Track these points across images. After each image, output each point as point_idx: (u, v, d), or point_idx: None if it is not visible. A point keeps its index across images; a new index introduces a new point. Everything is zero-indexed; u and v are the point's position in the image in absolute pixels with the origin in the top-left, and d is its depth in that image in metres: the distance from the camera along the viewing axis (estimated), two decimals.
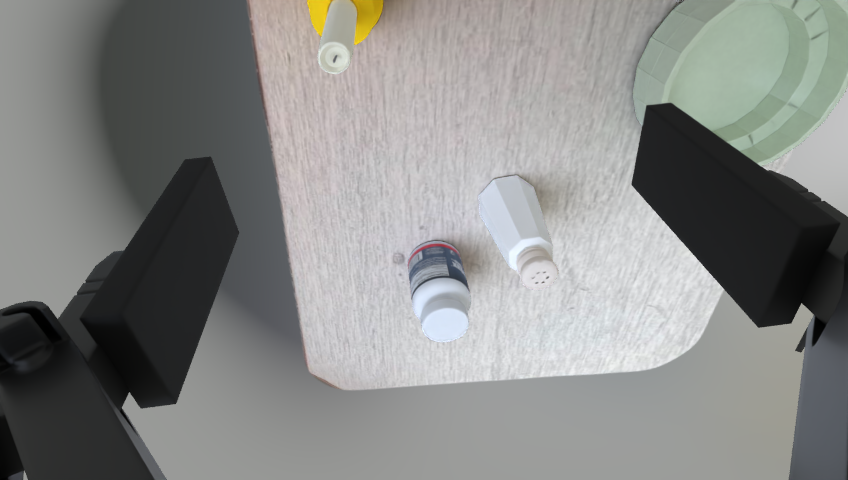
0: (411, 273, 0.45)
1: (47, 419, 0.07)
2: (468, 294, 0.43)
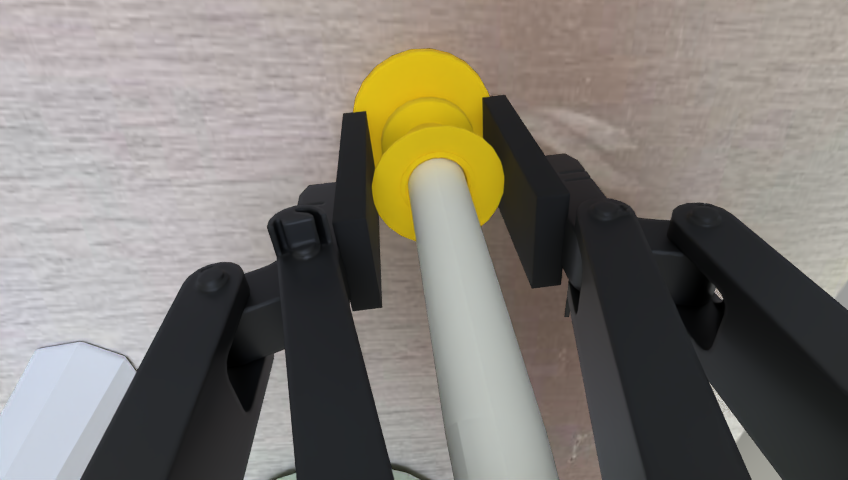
0: None
1: (305, 303, 0.09)
2: None
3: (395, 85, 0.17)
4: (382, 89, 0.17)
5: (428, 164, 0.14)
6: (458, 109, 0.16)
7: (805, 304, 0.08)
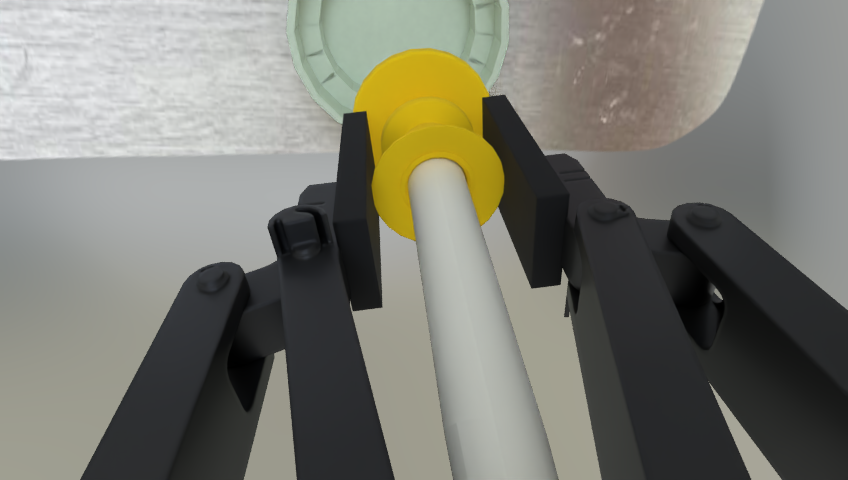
0: None
1: (306, 303, 0.09)
2: None
3: (395, 85, 0.17)
4: (382, 89, 0.17)
5: (428, 164, 0.14)
6: (458, 109, 0.16)
7: (804, 304, 0.08)
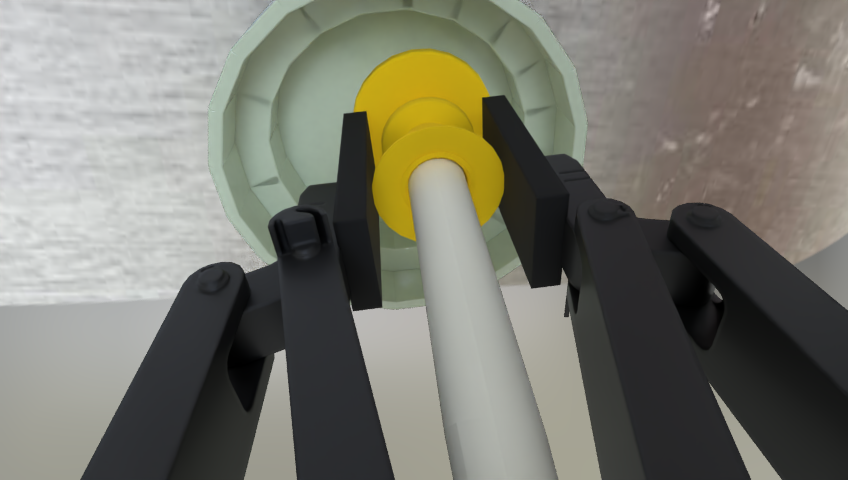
0: None
1: (306, 303, 0.09)
2: None
3: (395, 85, 0.17)
4: (382, 89, 0.17)
5: (428, 164, 0.14)
6: (458, 109, 0.16)
7: (804, 304, 0.08)
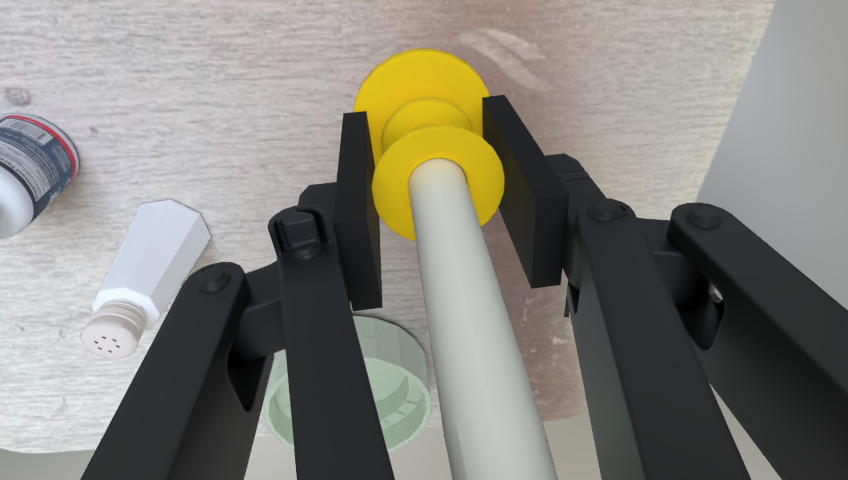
0: (6, 133, 0.28)
1: (306, 303, 0.09)
2: (12, 235, 0.28)
3: (395, 85, 0.17)
4: (382, 89, 0.17)
5: (428, 164, 0.14)
6: (458, 109, 0.16)
7: (804, 304, 0.08)
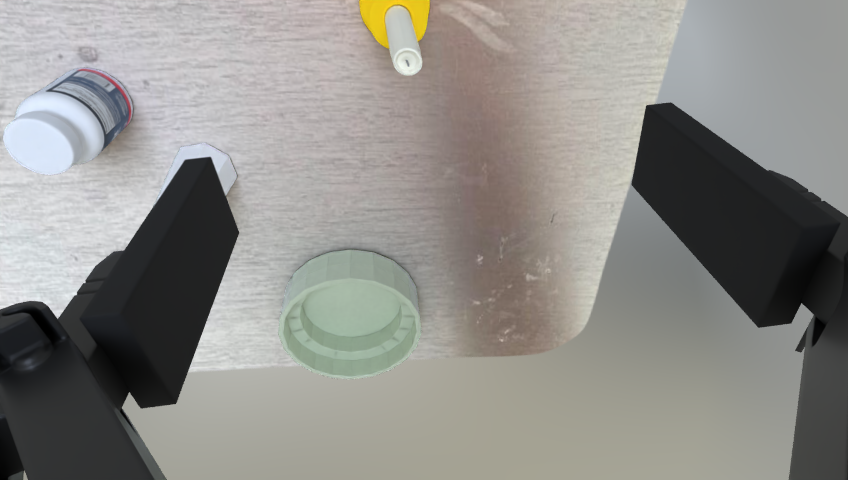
0: (82, 80, 0.35)
1: (47, 419, 0.07)
2: (87, 161, 0.35)
3: None
4: None
5: (393, 7, 0.32)
6: None
7: None
